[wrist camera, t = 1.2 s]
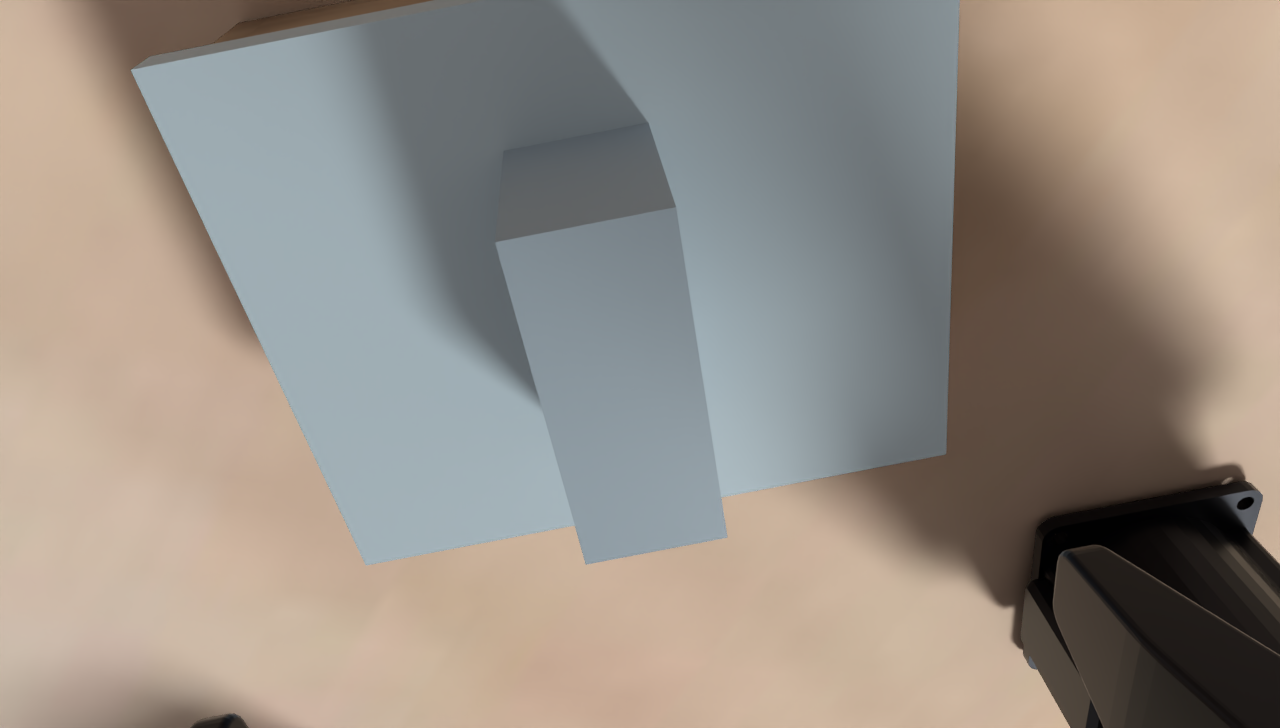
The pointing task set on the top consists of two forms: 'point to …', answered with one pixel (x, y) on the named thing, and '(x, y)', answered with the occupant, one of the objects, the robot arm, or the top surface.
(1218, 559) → the robot arm
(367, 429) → the lid
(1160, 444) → the top surface
